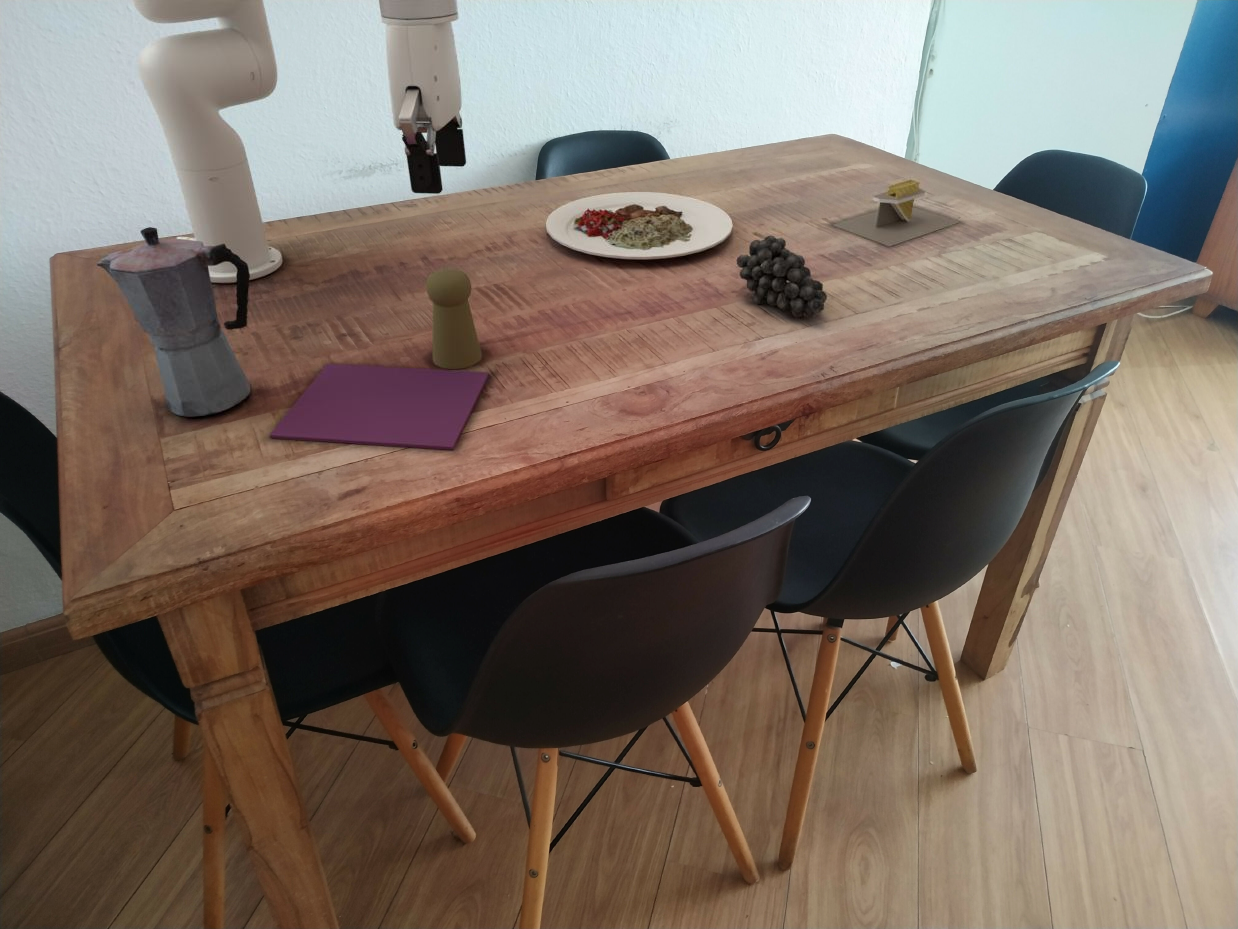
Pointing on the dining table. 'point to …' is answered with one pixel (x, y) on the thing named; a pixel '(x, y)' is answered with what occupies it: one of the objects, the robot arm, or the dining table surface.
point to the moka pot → (185, 319)
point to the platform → (896, 217)
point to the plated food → (639, 225)
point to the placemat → (384, 406)
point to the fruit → (781, 278)
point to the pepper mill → (452, 320)
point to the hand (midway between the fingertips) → (440, 178)
